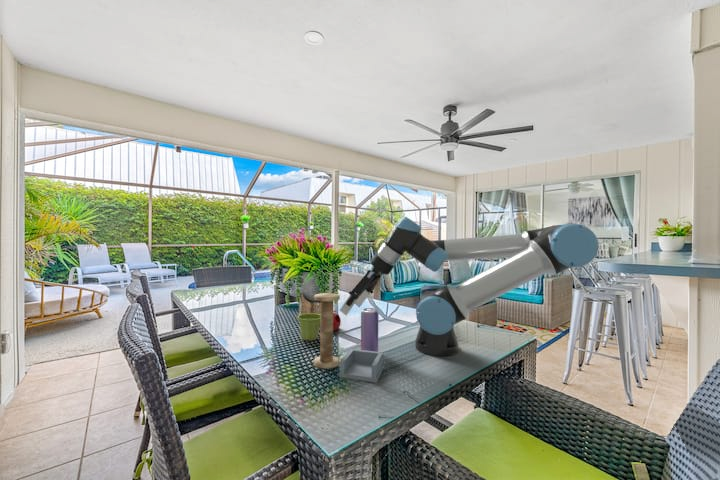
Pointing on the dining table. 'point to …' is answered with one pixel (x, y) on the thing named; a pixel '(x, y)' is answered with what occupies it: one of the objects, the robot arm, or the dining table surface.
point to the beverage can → (369, 329)
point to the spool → (326, 331)
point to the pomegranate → (336, 321)
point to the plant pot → (309, 326)
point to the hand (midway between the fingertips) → (350, 308)
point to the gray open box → (362, 365)
